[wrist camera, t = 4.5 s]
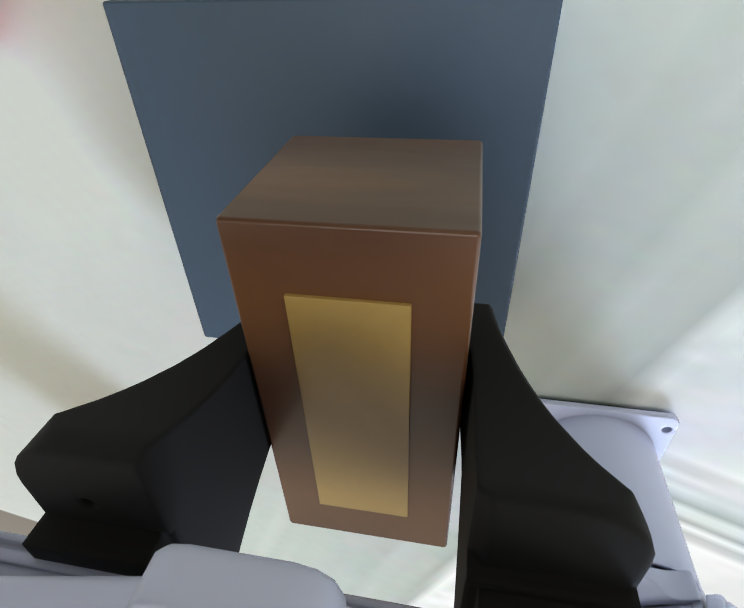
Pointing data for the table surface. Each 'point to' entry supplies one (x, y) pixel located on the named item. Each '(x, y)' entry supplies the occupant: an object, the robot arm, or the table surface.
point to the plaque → (361, 323)
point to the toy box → (331, 104)
